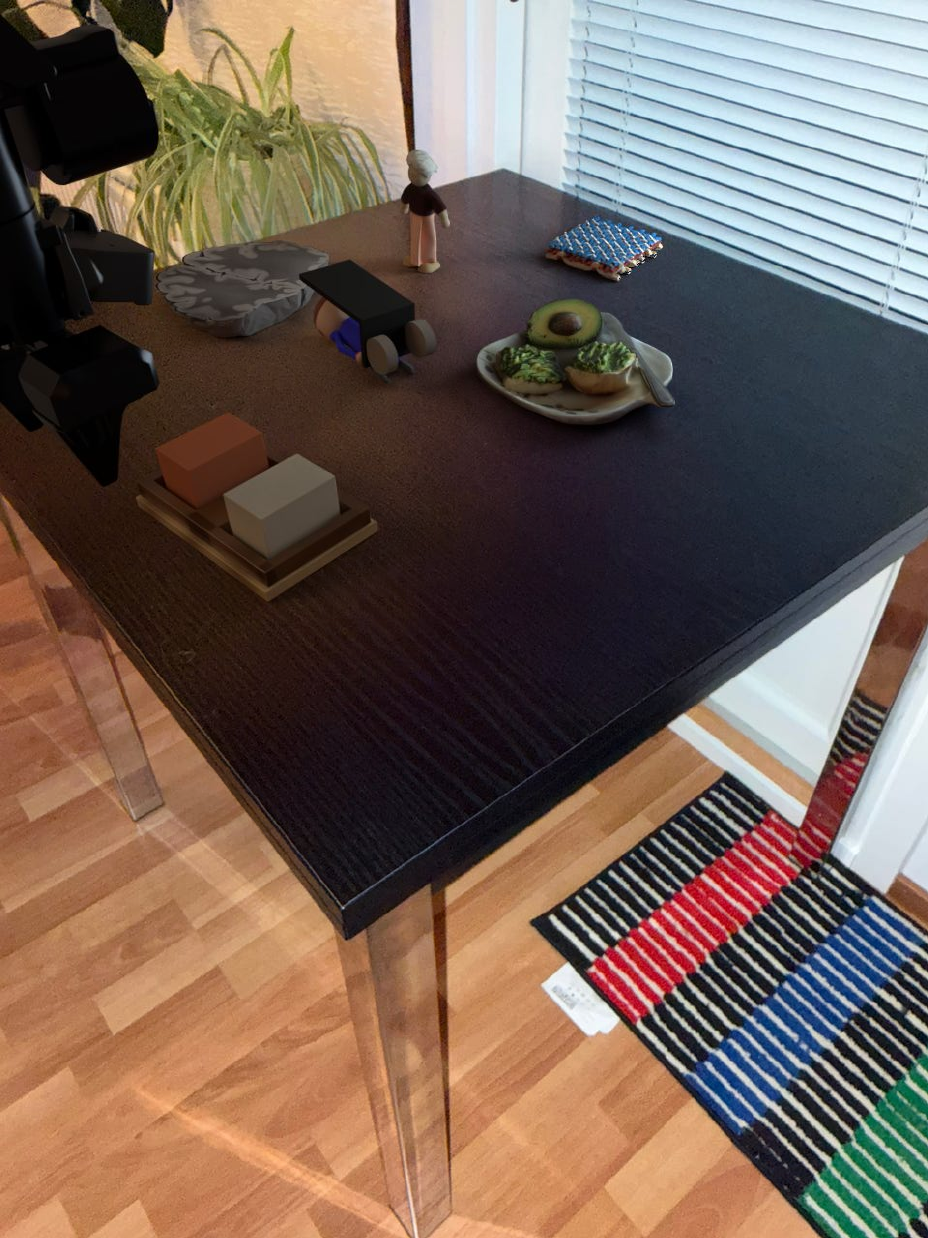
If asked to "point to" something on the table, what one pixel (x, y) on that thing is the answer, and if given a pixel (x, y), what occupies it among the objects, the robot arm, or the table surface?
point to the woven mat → (604, 247)
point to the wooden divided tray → (262, 576)
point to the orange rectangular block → (212, 460)
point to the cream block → (282, 505)
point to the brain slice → (240, 285)
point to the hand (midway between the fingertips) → (71, 454)
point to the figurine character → (368, 318)
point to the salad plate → (576, 366)
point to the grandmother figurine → (422, 211)
